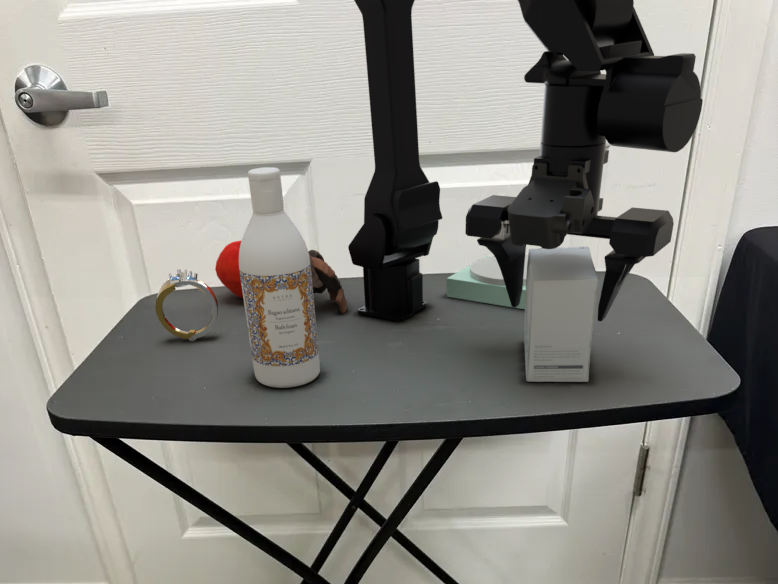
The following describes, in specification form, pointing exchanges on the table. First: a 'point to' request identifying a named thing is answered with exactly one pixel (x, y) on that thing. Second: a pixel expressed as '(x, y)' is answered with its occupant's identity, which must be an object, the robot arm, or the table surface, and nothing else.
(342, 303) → the brown curved piece
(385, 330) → the table surface
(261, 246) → the bath foam
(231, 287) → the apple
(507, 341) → the table surface
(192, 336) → the ring
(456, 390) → the table surface
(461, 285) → the scale
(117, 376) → the table surface
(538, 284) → the cosmetics box
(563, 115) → the robot arm
